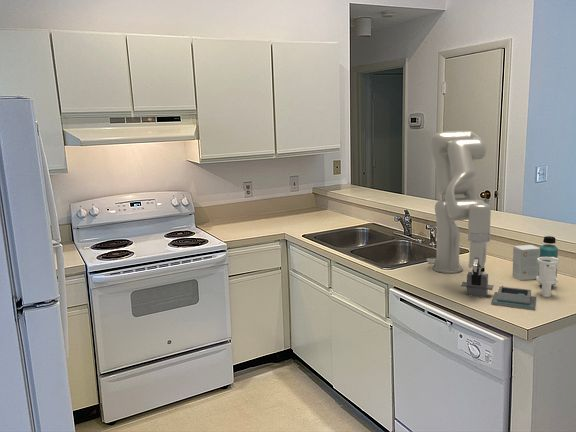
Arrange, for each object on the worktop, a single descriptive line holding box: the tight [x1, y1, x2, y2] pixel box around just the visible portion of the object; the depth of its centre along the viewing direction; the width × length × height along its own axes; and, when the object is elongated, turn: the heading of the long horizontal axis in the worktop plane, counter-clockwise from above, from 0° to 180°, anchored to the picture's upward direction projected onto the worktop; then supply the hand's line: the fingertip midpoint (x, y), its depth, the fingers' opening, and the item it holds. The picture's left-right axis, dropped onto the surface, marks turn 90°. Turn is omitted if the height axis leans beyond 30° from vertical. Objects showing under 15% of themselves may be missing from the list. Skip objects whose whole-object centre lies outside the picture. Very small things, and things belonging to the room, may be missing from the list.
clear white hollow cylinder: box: [535, 257, 560, 298], centre depth 180 cm, size 7×7×15 cm
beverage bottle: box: [538, 235, 559, 287], centre depth 188 cm, size 6×7×20 cm
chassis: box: [490, 286, 537, 311], centre depth 176 cm, size 14×11×4 cm
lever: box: [460, 271, 495, 298], centre depth 185 cm, size 11×4×9 cm, turn 61°
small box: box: [511, 244, 540, 281], centre depth 200 cm, size 8×6×13 cm
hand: (478, 281), depth 184 cm, fingers open, 9 cm apart
